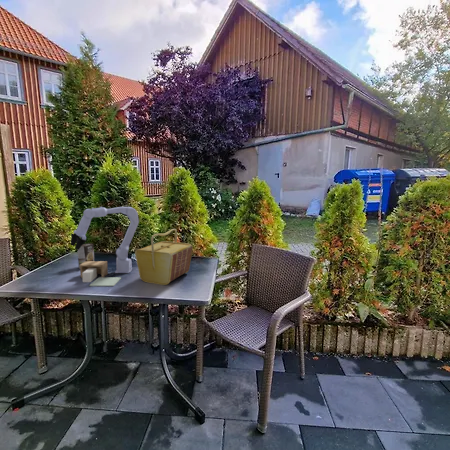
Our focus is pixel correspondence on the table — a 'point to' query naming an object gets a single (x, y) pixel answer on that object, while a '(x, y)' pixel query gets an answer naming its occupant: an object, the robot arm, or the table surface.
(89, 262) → the wooden box
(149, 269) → the picnic basket
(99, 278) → the pale green panel
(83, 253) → the coffee box
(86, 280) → the cream block
